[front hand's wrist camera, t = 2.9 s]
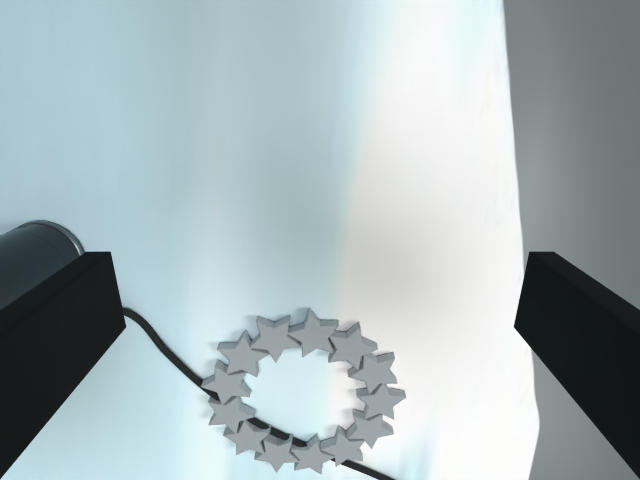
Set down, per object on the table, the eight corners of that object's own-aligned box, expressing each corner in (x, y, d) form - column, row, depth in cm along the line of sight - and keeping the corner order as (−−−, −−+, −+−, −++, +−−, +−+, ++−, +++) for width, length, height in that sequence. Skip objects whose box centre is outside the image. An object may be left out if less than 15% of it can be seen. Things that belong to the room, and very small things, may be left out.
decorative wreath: (185, 318, 54) (225, 473, 65) (181, 324, 52) (223, 482, 63) (401, 299, 53) (406, 459, 63) (403, 305, 51) (408, 468, 62)
